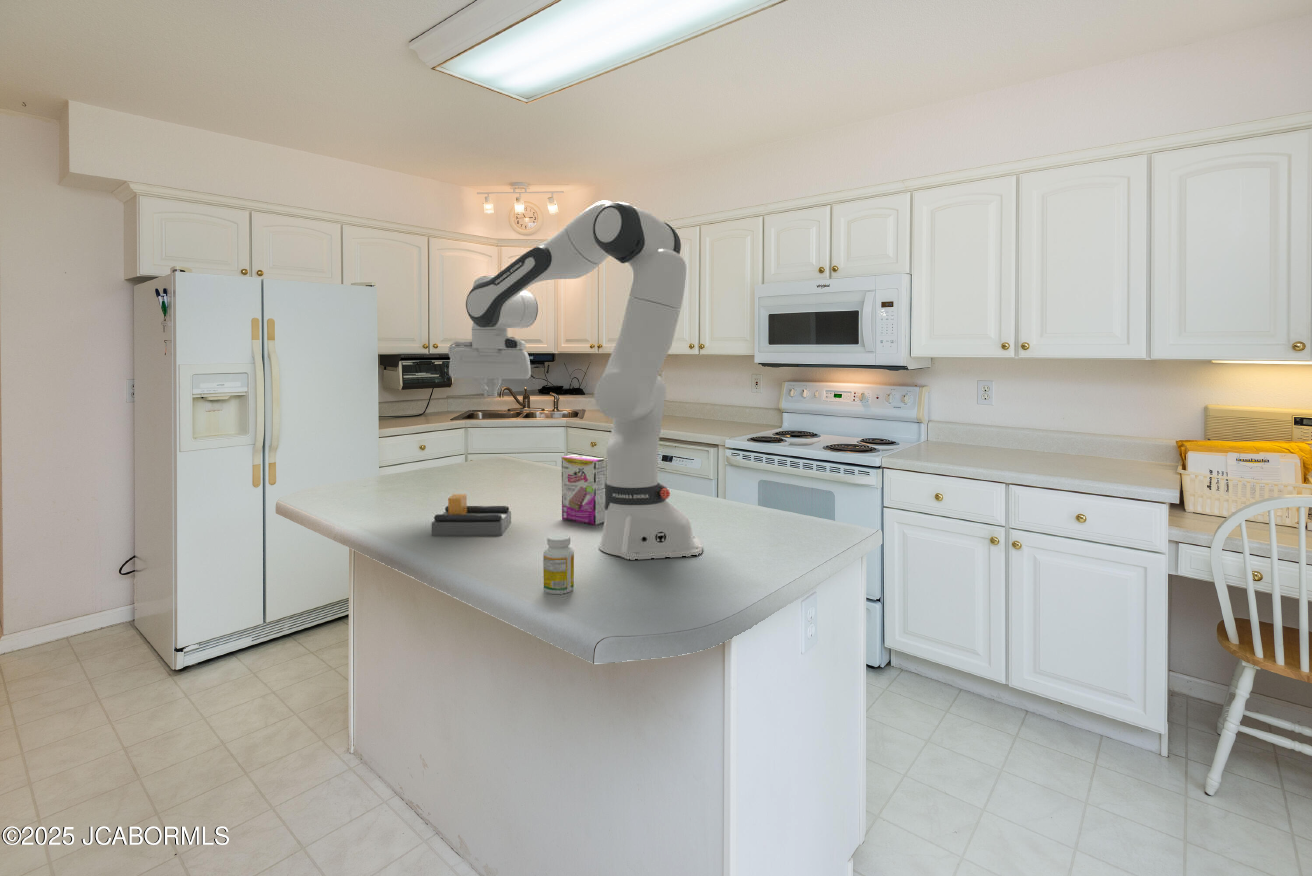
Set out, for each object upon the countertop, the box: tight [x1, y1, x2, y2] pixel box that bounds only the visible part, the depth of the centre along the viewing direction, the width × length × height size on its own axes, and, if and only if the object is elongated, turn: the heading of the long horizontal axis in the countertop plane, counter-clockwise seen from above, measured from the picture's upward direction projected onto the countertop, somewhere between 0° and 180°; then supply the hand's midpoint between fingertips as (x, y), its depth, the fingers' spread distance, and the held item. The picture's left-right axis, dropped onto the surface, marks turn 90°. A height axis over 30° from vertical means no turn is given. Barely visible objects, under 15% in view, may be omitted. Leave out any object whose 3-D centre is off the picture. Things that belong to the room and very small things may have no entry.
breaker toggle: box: [447, 493, 468, 514], centre depth 153 cm, size 3×5×4 cm, turn 2°
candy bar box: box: [561, 454, 607, 526], centre depth 162 cm, size 11×5×16 cm, turn 58°
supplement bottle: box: [542, 533, 575, 595], centre depth 113 cm, size 5×5×10 cm
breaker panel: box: [430, 505, 512, 537], centre depth 154 cm, size 16×12×5 cm
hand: (490, 396), depth 164 cm, fingers closed
